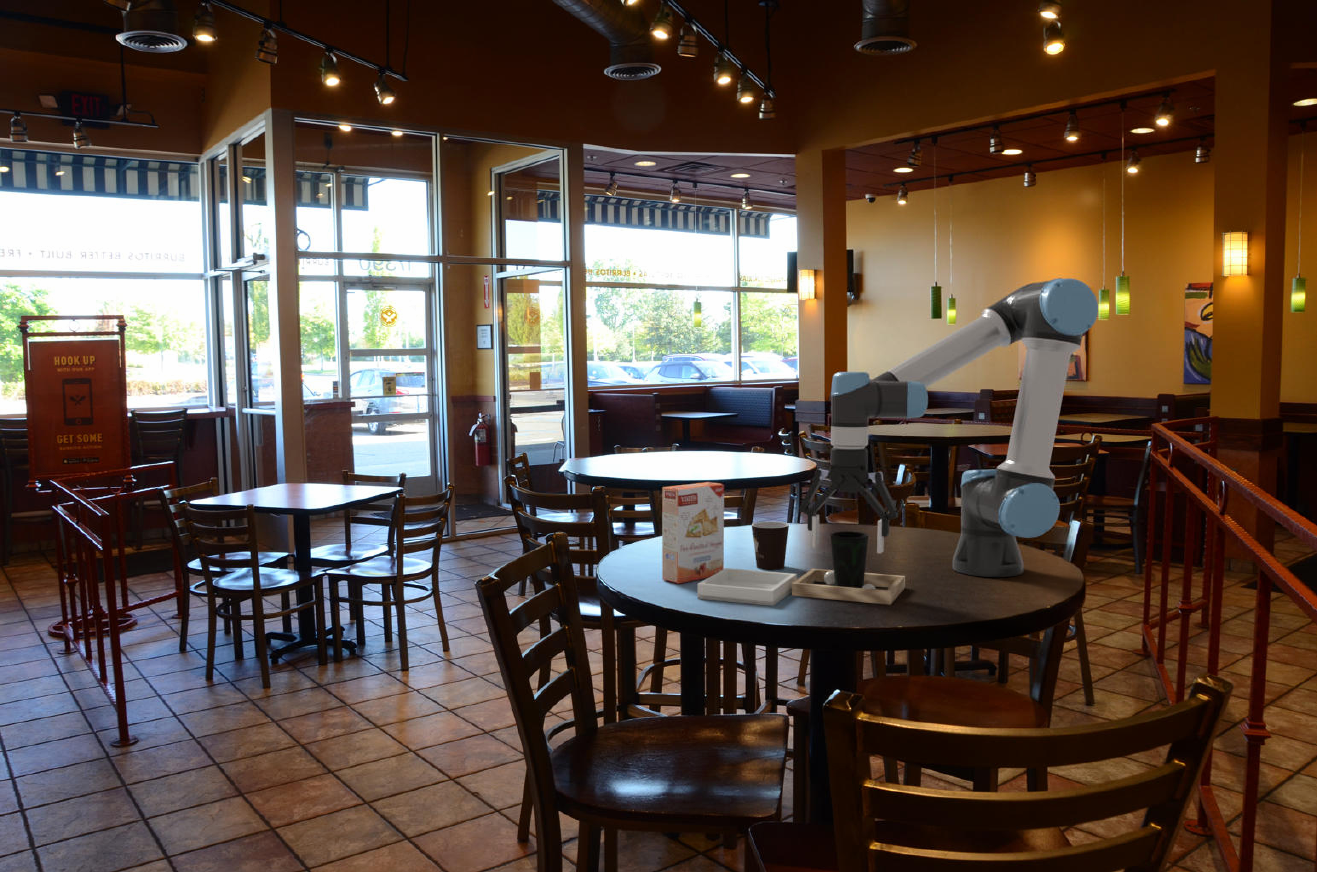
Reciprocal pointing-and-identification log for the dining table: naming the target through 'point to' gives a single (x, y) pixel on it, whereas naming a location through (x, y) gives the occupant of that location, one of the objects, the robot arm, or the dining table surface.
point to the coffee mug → (770, 544)
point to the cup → (849, 558)
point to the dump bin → (747, 586)
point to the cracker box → (692, 531)
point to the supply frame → (850, 588)
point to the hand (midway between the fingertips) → (847, 549)
